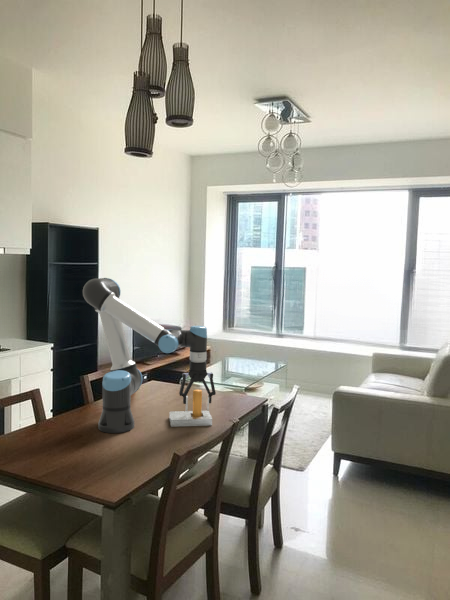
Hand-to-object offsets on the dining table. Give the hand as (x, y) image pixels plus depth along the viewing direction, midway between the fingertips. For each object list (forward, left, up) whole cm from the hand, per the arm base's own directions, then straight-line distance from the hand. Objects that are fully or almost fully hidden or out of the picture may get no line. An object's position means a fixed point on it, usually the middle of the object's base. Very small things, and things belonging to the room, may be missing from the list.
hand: (197, 410), depth 214 cm
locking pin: (0, 0, -5) cm, 5 cm away
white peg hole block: (-3, 0, -5) cm, 6 cm away
